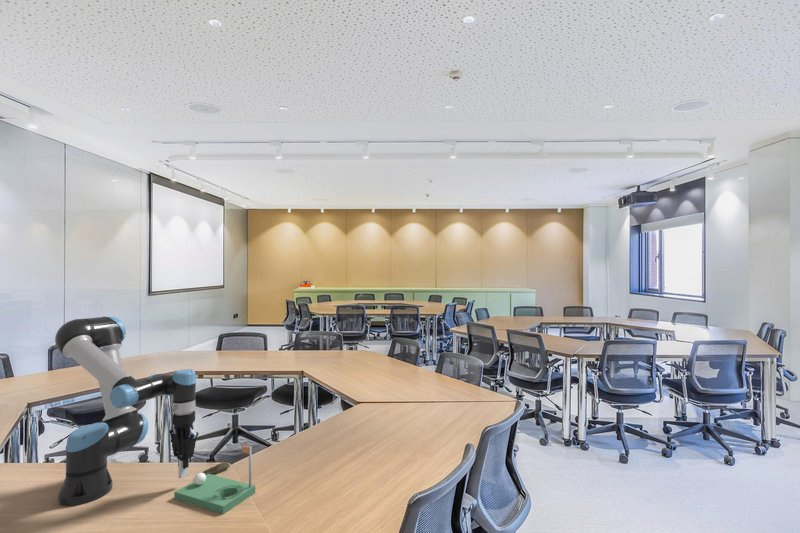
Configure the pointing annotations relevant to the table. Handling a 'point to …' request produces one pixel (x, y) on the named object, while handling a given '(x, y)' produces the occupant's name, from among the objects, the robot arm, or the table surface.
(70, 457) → the robot arm
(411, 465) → the table surface
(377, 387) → the table surface
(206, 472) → the stone
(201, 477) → the ball
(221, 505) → the green
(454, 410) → the table surface
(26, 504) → the table surface
